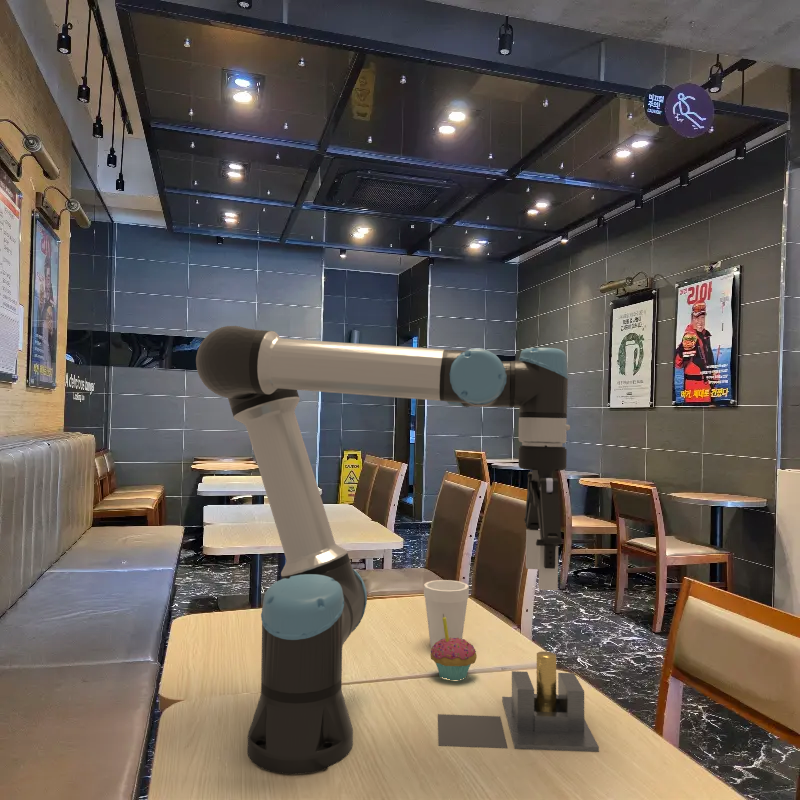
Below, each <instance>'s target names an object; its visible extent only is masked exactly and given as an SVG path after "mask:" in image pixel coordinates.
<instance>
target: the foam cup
mask: <svg viewBox="0 0 800 800" xmlns="http://www.w3.org/2000/svg"><path fill="white" fill-rule="evenodd" d="M469 589H470V587H469V585H468V584H467V583H466V582H463V581H459V580H451V579H448V580H447V579H437V580H431V581H427V582H425V583H424V584H423V597H424V599H425V600H424V601H425V610H426V617H427V618H426V619H427V625H428V628H427V629H428V637H429V643H430V648H431V647H433V646H434V645H435V643H436V642H438V641H439V640H441V639H445V632H444V625H443V614H444V617H446V621H447V629H448V636H449V638H450V637H451V638H460V639H463V636H464V635H463V634H464V627H465V620H466V619H465V618H466V613H467V605H468V599H469V598H470V597H469V596H470V595H469V594H470V592H469V591H470V590H469Z"/></svg>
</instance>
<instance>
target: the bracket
mask: <svg viewBox="0 0 800 800" xmlns="http://www.w3.org/2000/svg"><path fill="white" fill-rule="evenodd" d="M557 676H558V677H557V680H558V681H557V683H558V684H557V686H558V687H557V689H558V690H557V693H558V694H556V712H537V693H535V688H534V686H533V682H532V681H531V679H530V675H529V673H528V671H516V670H515V671H511V696H502V697H501V698H502V699H501V700H502V705H503V709H504V712H505V717H506V721H507V725H508V727H509V733H510V735H511V740H512V742H513V743H512V744H513V748H514V749H515V750H538V751H539V750H540V751H563V752H564V751H566V752H567V751H569V752H591V753H593V752H595V753H599V752H600V747H599V745H598V743H597V740H596V738H595V737H594V735H593V733H592V730H590V727H589V726H588V724H587V722H586V720H585V690H584V688H583V687H582V685H581V683H580V682H579V679H578V678H577V676H576V674H575V673H574V672H558V675H557Z"/></svg>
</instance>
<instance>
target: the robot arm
mask: <svg viewBox="0 0 800 800" xmlns="http://www.w3.org/2000/svg"><path fill="white" fill-rule="evenodd" d="M195 364H196V365H195V366H196V371H197V374H198V376H199V378H200V380H201V381H202V384H203V385H204V386H205V387H206V388H207V389H209V391H211V392H212V393H214V394H216V395H218V396H220V397H222V398H227V400H228V402H229V406H230V409H231V412H232V417H233V419H234V420H235V421H237V422H239V423H241V424H242V425H244V427H245V428H246V432H247V434H248V437H249V441H250V443H251V448H252V450H253V451H252V452H253V453H254V458H255V460H256V464H257V467H258V470H259V473H260V477H261V480H262V484H263V486H264V487H263V488H264V490H265V494H266V496H267V500H268V503H269V506H270V511H271V513H272V516H273V520H274V524H275V527H276V530H277V533H278V537H279V540H280V543H281V547H282V550H283V554H284V556H285V564H284V566H283V568H282V570H281V572H280V576H281V579H279V580H277V581H275V582H273V584H271V585H270V586H269V587H268V588H267V590H265V592H264V596H263V602H262V607H261V612H260V613H261V614H260V618H261V619H260V620H261V669H260V670H261V671H260V672H261V673H260V674H261V675H260V676H261V677H260V681H261V683H260V684H261V686H260V696H259V700H258V702H257V705H256V709H255V711H254V714H253V717H252V721H251V723H250V724H251V725H250V727H249V729H248V733H247V747H246V750H247V751H246V752H247V756H248V759H249V761H251V762H252V763H253V764H254V765H256V766H257V767H258V768H260V769H262V770H265V771H267V772H268V771H269V772H272V773H277V774H282V775H284V774H285V775H303V774H311V773H315V772H320V771H325V770H327V769H328V768H329V767H331V766H334V765H335V764H338V763H339V762H340V761H342V760H343V759H345V758H346V757H347V756H348V755H349V754H350V753H351V751H352V749H353V745H354V729H353V724H352V721H351V717H350V715H349V710H348V707H347V704H346V701H345V697H344V694H343V689H342V684H343V681H342V680H343V678H342V677H343V674H342V673H343V646H344V644H345V642H346V641H347V640H348V638H349V637H350V635H351V634H352V633H353V632H354V631H355V630H357V629H356V628H357V627H358V626H359V625H360V623H361V622H362V620H363V618H364V615H365V612H366V608H367V602H368V592H367V586H366V584H365V582H364V580H363V578H362V576H361V575H360V573H359V572H358V571H357V570H356V569H354V568H353V566H352V563H351V559H350V556H349V553H348V551H347V549H345V548H343V547H341V546H339V545H338V544H336V541H335V539H334V535H333V532H332V529H331V525H330V522H329V519H328V515H327V513H326V510H325V506H324V503H323V500H322V497H321V493H320V490H319V487H318V484H317V480H316V477H315V473H314V470H313V467H312V464H311V462H310V461H311V460H310V457H309V453H308V451H307V448H306V444H305V442H304V439H303V435H302V431H301V428H300V425H299V423H298V419H297V415H296V412H295V411H296V408H297V406H298V405H299V402H300V401H301V400H300V399H301V398H300V396H299V392H298V391H307V392H319V393H320V392H323V393H334V394H335V393H336V394H347V395H359V396H360V395H361V396H372V397H373V396H374V397H387V398H398V399H399V398H401V399H412V400H425V401H438V402H439V401H441V402H446V403H447V404H448V405H450V406H452V407H462V408H470V407H474V408H475V407H477V408H478V407H479V408H481V407H482V408H483V407H485V408H496V407H497V408H500V407H501V408H503V407H504V408H507V407H508V408H519V413H518V416H519V417H518V441H519V443H521V445H520V446H519V447H518V463H517V464H518V467H519V468H520V469H521V470H528V471H529V472H528V474H527V492H526V502H525V503H526V504H525V513H524V519H523V521H524V523H525V527H526V530H525V531H526V532H525V533H526V534H525V535H526V536H525V540H526V542H525V550H526V551H525V569H526V570H538V586H537V588H538V590H539V591H540V590H541V591H558V590H559V588H558V587H559V586H558V585H559V545H561V544H562V541H563V538H562V530H561V529H562V528H561V517H560V516H561V515H560V503H559V480H558V478H555V477H554V475H553V472H554V471H558V472H560V471H564V470H566V468H567V460H568V459H567V456H568V454H567V453H568V452H567V451H568V450H567V448H566V447H565V446H563V444H565V443H567V432H568V431H570V430H571V425H570V424H567V418H568V391H569V390H568V389H569V388H568V387H569V385H568V384H569V383H568V382H569V375H568V357H567V354H566V352H565V351H564V350H562V349H560V348H555V347H554V348H553V347H530V348H529V347H528V348H524V349H522V350H521V352H520V354H519V358H518V360H511V361H507V360H506V361H504V360H503V361H502V360H501V359H500V358H499V357H498V356H497V354H495V353H494V352H491V351H490V350H488V349H483V348H470V349H467V350H459V349H444V348H428V347H415V346H402V345H401V346H399V345H398V346H397V345H383V344H370V343H357V342H356V343H354V342H341V341H340V342H337V341H325V340H323V341H322V340H312V339H311V340H310V339H306V340H305V339H294V338H282V337H280V335H279V334H278V333H277V332H276V331H274V330H273V331H272V330H262V329H253V328H248V327H247V328H246V327H244V326H241V325H240V326H238V325H226V326H221V327H219V328H217V329H215V330H212V331H211V332H210V333H209V334H208V335H206V336H205V338H204V339H203V340H202V341H201V343H200V344H199V347H198V349H197V353H196V357H195Z"/></svg>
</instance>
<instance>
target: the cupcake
mask: <svg viewBox="0 0 800 800" xmlns="http://www.w3.org/2000/svg"><path fill="white" fill-rule="evenodd" d="M443 625H444V632H445V639H441V640H439V641H438V642H436V643H435V645H434V646H433V647H431V646H430V659H431V660H432V661H434V663H435V664H436V665H435V666H436V668H437V671H438V675H439V678H440V677H443V678H447V679H450V680H460V679H463V678H465V677H466V678H467V675H468V672H469V670H470V667H471V665H472V664H475V663H476V660H477V653H476V652H477V651H476V649H475V647H474V645H473V644H472V643H470V642H469V641H467V640H466V639H464V638H462V639H460V638H451V637H450V638H449V636H448V629H447V621H446V617H444V614H443ZM466 678H465V679H466Z"/></svg>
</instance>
